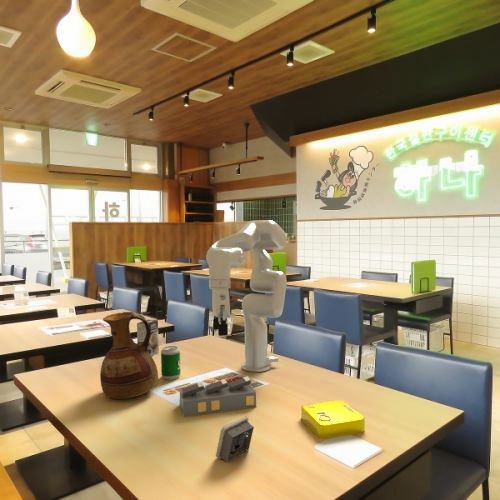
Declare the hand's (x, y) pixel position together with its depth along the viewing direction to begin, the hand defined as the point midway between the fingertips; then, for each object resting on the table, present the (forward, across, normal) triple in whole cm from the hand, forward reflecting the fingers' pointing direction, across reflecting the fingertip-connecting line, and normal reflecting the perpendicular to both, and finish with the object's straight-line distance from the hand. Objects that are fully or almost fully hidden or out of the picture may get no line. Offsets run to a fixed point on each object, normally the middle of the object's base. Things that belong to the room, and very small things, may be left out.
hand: (220, 332), depth 150 cm
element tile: (+24, -30, -28) cm, 48 cm away
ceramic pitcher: (+23, +12, +32) cm, 41 cm away
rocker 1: (+17, -8, +11) cm, 22 cm away
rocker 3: (+17, -7, -5) cm, 19 cm away
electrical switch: (+24, -40, +3) cm, 46 cm away
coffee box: (+23, +60, +25) cm, 68 cm away
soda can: (+23, +25, +16) cm, 38 cm away
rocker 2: (+17, -8, +3) cm, 19 cm away
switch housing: (+23, -8, +3) cm, 24 cm away
